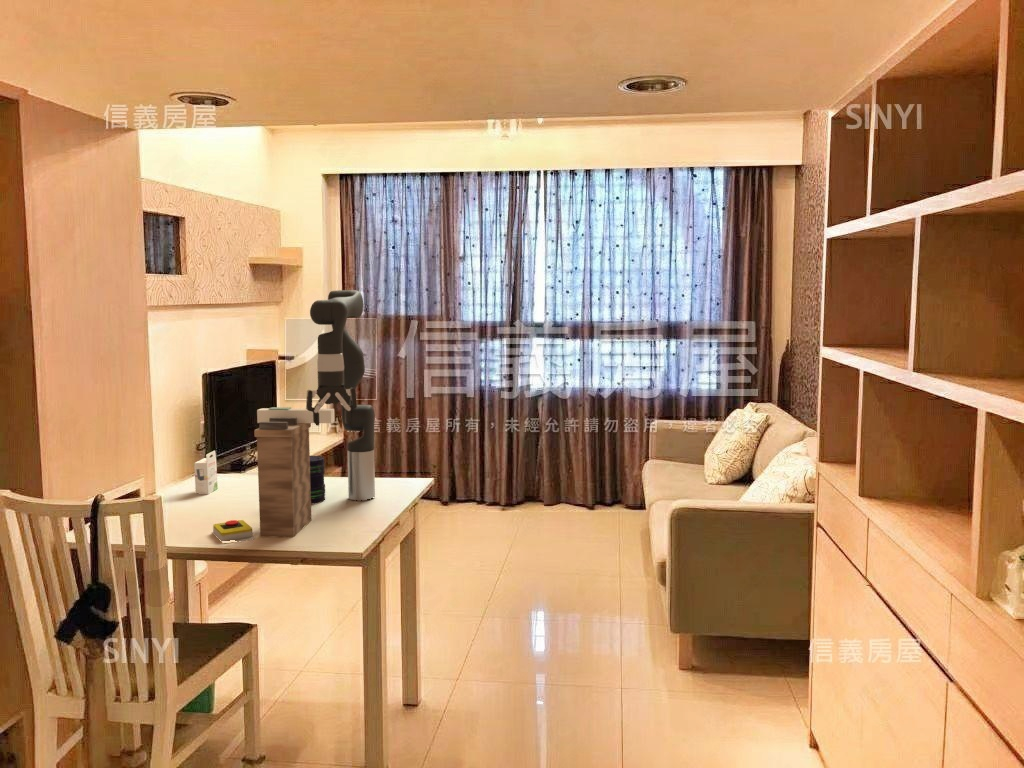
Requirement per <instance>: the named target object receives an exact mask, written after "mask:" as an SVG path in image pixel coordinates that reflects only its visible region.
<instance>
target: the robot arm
mask: <svg viewBox="0 0 1024 768" xmlns="http://www.w3.org/2000/svg"><path fill="white" fill-rule="evenodd" d="M363 313H364V299H363V294H362V293H361V292H360V291H358V290H356V289H343V290H341V289H339V290H332V291H329V292H328V295H327V299H318V300H315V301H314V302H313V303H312V304H311V306H310V310H309V315H310V319H311V320H312V322H313V323H314V324H316V325H319V326H320V325H321V326H325V325H326V326H328V325H329V326H330V325H331V329H332V330H331V331H328V332H323V333H320V334H319V335H318V337H317V361H316V362H317V369H316V370H317V389H316V390H313V389H307V390H306V400H305V401H306V402H305V403H306V406H305V409H307V410H308V411H311V412H313V422H314V423H313V424H314V425H315V426H320V423H319V413H318V411H319V410H320V409H322V407H324V405H325V404H326V405H331V404H334V405H338V404H340V405H341V420H342V426H343V428H344V430H345V431H348V432H363V434H362V436H360V437H358V438H356V439H353V440H350V441H349V442H348V443H347V445H346V447H347V481H348V482H347V483H348V484H347V486H348V487H347V488H348V492H347V493H348V500H351V501H356V500H357V502H358V501H361V500H362V501H368V500H367V499H370V500H372V499H371V498H373V497H375V498H376V489H375V488H376V481H375V480H376V477H375V471H376V470H375V420H376V419H375V414H376V413H375V410H374V409H375V408H374V407H373V406H372V405H371V404H357V394H356V393H357V391H356V389H357V387H358V386H359V384H360V382H361V380H362V379H363V377H364V375H365V371H366V367H365V357H364V352H363V350H362V348H361V347H360V345H359V344H358V342H356V340H354V338H353V337H352V336H351V335H350V333H349V332H348V330H347V329H346V323H347V319H356V318H359V317H361V316H362V314H363ZM316 395H317V397H318V398H319V399H318V401H316V404H315V405H314V406H313V398H315V396H316ZM373 499H374V498H373Z"/></svg>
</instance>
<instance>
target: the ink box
mask: <svg viewBox="0 0 1024 768" xmlns="http://www.w3.org/2000/svg"><path fill="white" fill-rule="evenodd" d="M217 466H218V465H217V455H216V450H213V451H211V452H209V453H207V454H206V455H205V458H204V457H203V458H201V459H200V460H198V461H195V462H194V463H193V467H194V468H193V470H194V486H195V488H194V489H195V494H196V493H199V494H198V495H210V494H211V493H213V492H215V491H216V489H217V490H218V489H219V488H218V470H217V468H218V467H217ZM214 490H215V491H214ZM209 493H210V494H209Z"/></svg>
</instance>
